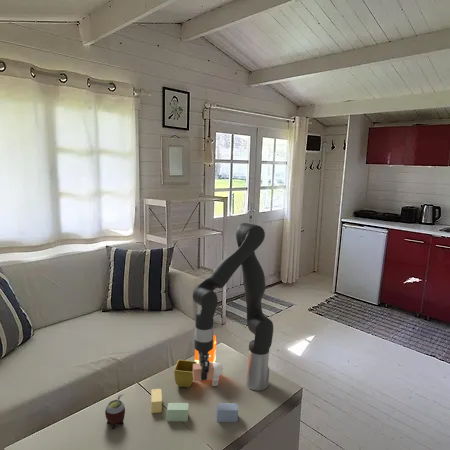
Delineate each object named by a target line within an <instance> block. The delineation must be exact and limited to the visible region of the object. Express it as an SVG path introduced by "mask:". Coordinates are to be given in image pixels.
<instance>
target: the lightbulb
mask: <svg viewBox="0 0 450 450" xmlns="http://www.w3.org/2000/svg"><path fill="white" fill-rule="evenodd" d="M213 366H214V379H211V386H213V387H217V386H218V385H219V380H220V379H219V378H220V376H221V375H222V374H223V372H224V371H223V369H224V368H223V365H222V364H221V363H220V362H218V361H215V362H213Z"/></svg>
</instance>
